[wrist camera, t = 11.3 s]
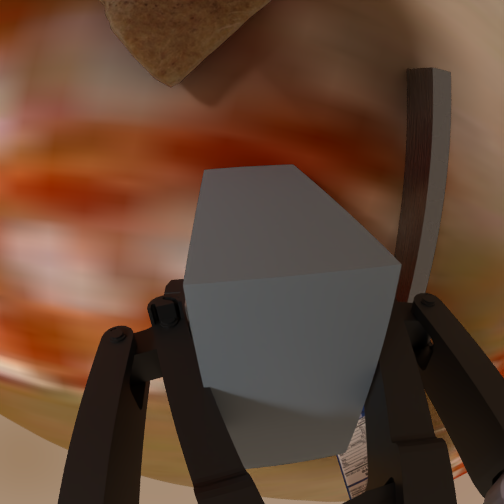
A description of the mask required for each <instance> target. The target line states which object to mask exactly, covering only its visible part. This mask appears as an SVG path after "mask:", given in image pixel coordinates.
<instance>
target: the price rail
mask: <svg viewBox="0 0 504 504" xmlns="http://www.w3.org/2000/svg"><path fill="white" fill-rule="evenodd" d="M450 125H451V72H448V71H445V70H441V69H437V68H417V69H407V141H406V159H405V173H404V185H403V195H402V205H401V213H400V222H399V229H398V236H397V243H396V250H395V256H394V257H395V258H396V259H397V260H398V261H399V262H400V263H401V264H402V265H401V270H400V275H399V280H398V285H397V289H396V294H395V298H396V299H397V302H408V303H413V300H414V297H415V296H416V295H417V294H420V293H425V292H426V288H427V284H428V280H429V276H430V271H431V267H432V262H433V258H434V253H435V248H436V243H437V238H438V233H439V227H440V221H441V215H442V208H443V202H444V194H445V186H446V178H447V168H448V157H449V144H450Z"/></svg>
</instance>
